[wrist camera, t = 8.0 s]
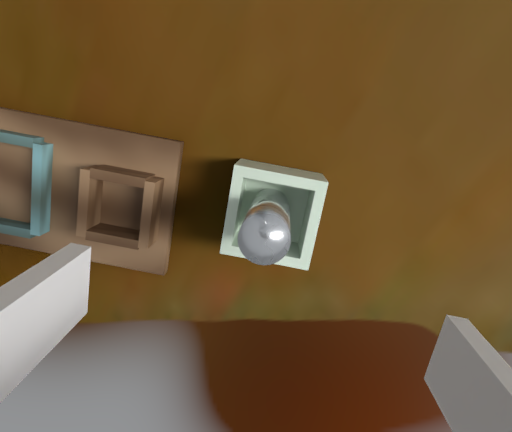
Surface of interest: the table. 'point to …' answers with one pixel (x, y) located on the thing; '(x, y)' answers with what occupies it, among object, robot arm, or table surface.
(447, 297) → the table surface
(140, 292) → the table surface
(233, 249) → the tray
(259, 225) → the pin
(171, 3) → the table surface
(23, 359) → the robot arm
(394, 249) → the table surface
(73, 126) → the mount
